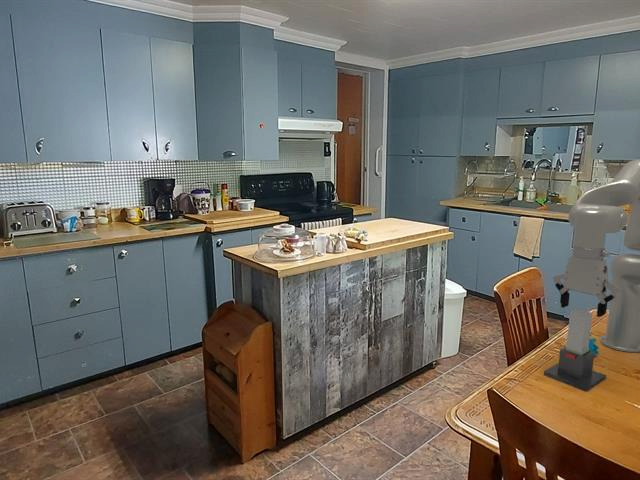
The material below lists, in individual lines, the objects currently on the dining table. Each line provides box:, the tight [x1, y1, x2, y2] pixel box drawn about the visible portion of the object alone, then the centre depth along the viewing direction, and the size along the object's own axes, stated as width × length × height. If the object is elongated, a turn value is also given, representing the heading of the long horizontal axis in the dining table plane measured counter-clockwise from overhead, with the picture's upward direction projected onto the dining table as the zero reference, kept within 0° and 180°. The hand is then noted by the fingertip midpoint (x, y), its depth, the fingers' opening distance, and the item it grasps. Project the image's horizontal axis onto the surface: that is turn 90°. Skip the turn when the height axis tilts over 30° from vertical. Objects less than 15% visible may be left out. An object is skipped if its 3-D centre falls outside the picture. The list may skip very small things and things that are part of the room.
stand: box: [543, 346, 607, 393], centre depth 129 cm, size 12×12×8 cm
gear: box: [589, 333, 600, 358], centre depth 146 cm, size 11×6×10 cm
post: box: [565, 308, 593, 356], centre depth 127 cm, size 4×4×14 cm
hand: (582, 311), depth 126 cm, fingers open, 9 cm apart
